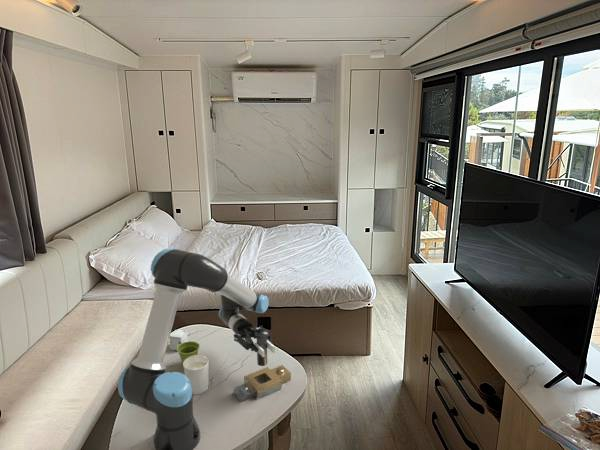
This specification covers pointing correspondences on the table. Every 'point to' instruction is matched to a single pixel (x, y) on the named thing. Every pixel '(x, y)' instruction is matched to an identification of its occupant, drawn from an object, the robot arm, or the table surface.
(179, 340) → the skincare box
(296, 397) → the table surface
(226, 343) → the table surface
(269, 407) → the table surface
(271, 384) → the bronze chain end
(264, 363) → the black pin
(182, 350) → the plant pot
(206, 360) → the candle holder
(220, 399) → the table surface
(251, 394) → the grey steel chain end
